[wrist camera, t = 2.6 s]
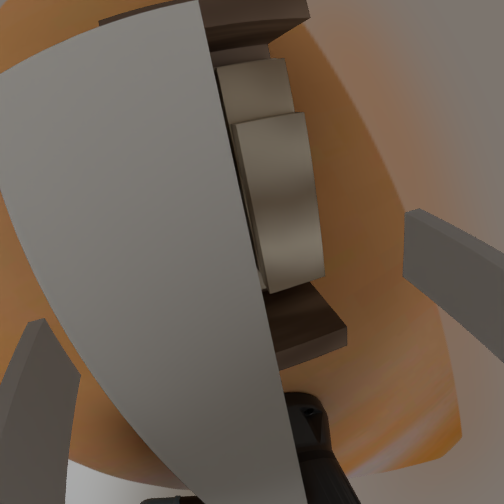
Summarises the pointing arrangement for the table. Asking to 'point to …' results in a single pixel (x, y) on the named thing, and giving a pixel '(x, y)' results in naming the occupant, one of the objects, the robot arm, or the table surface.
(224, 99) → the offcuts
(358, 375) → the table surface
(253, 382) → the sheet
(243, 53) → the rack
